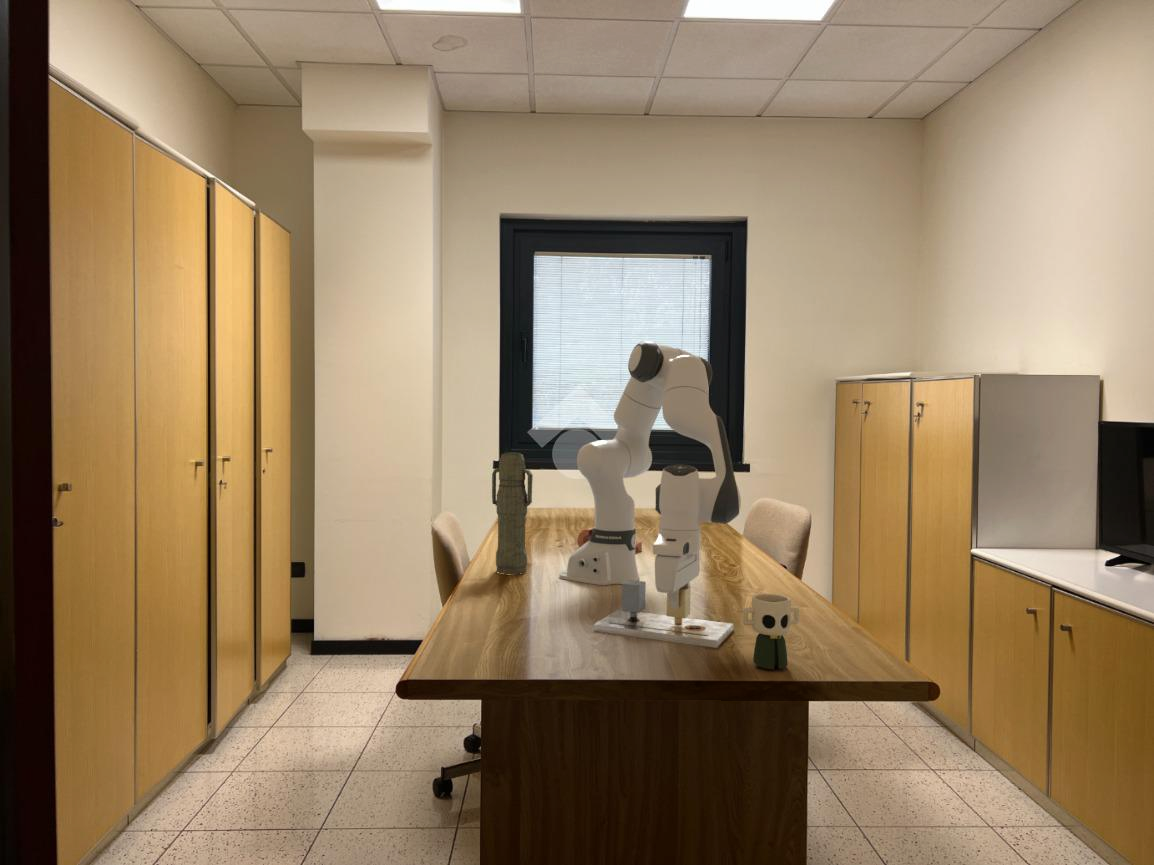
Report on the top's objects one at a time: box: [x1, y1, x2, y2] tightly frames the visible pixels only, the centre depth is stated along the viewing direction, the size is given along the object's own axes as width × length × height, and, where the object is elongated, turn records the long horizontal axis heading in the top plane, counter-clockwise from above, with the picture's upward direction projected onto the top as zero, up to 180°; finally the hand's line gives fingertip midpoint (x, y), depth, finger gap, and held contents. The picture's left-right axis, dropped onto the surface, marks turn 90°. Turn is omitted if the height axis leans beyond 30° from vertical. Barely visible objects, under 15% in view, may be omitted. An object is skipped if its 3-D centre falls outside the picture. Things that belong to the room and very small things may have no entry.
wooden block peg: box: [666, 585, 692, 625], centre depth 170 cm, size 4×4×8 cm
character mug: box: [742, 593, 800, 670], centre depth 148 cm, size 11×7×13 cm, turn 97°
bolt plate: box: [593, 580, 734, 649], centre depth 172 cm, size 27×14×10 cm, turn 65°
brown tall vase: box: [491, 451, 534, 575], centre depth 229 cm, size 9×12×35 cm
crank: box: [576, 526, 643, 554], centre depth 266 cm, size 20×8×8 cm, turn 66°
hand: (678, 605), depth 170 cm, fingers closed on wooden block peg, 4 cm apart
